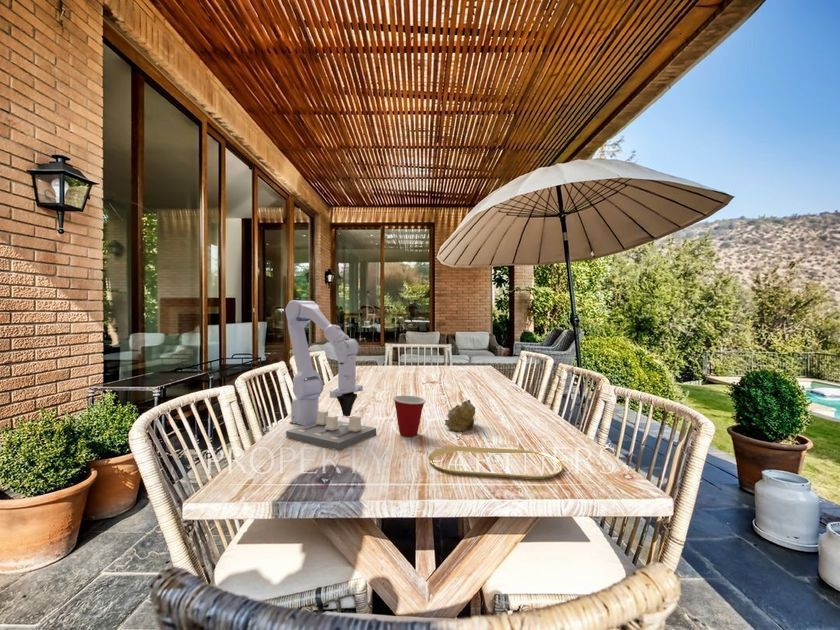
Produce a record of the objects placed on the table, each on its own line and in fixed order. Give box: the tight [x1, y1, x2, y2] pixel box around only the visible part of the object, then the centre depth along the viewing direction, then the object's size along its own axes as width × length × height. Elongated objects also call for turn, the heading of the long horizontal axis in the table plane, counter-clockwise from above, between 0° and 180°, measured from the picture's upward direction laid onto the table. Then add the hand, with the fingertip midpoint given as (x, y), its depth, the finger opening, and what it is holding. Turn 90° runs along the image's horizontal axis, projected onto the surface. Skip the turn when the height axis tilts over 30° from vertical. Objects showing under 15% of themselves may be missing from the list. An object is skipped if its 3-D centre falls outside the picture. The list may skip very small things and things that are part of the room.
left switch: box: [316, 409, 329, 425], centre depth 138 cm, size 3×3×4 cm
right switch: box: [348, 415, 362, 432], centre depth 131 cm, size 3×3×4 cm
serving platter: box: [427, 445, 564, 480], centre depth 109 cm, size 19×35×2 cm, turn 82°
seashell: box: [444, 399, 476, 433], centre depth 145 cm, size 11×14×10 cm
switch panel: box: [285, 420, 377, 451], centre depth 132 cm, size 22×18×2 cm
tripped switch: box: [325, 414, 339, 431], centre depth 132 cm, size 3×3×4 cm
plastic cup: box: [393, 395, 427, 438], centre depth 135 cm, size 11×11×12 cm
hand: (346, 415), depth 138 cm, fingers closed
